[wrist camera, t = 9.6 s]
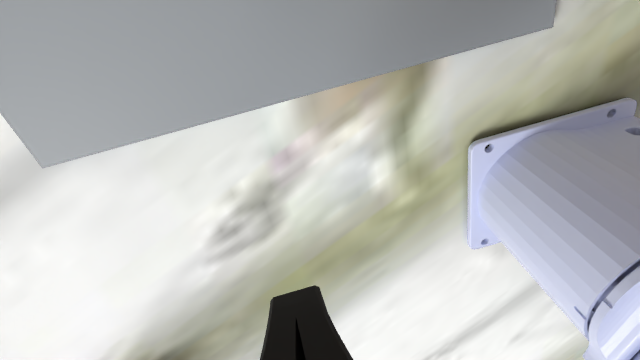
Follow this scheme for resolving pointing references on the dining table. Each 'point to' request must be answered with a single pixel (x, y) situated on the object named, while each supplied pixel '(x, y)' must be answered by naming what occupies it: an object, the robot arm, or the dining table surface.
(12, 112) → the card
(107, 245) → the dining table surface
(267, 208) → the dining table surface
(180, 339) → the dining table surface
